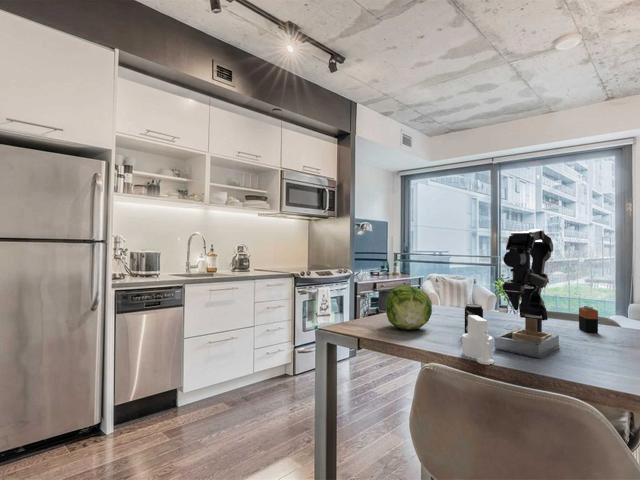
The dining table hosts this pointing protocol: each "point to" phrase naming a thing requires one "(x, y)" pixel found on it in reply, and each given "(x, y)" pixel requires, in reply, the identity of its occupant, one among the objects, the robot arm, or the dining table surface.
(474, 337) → the white stepped block
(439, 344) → the dining table surface
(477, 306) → the beverage can
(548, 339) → the bay
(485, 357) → the chess piece
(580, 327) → the battery
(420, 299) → the lettuce
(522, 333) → the box
